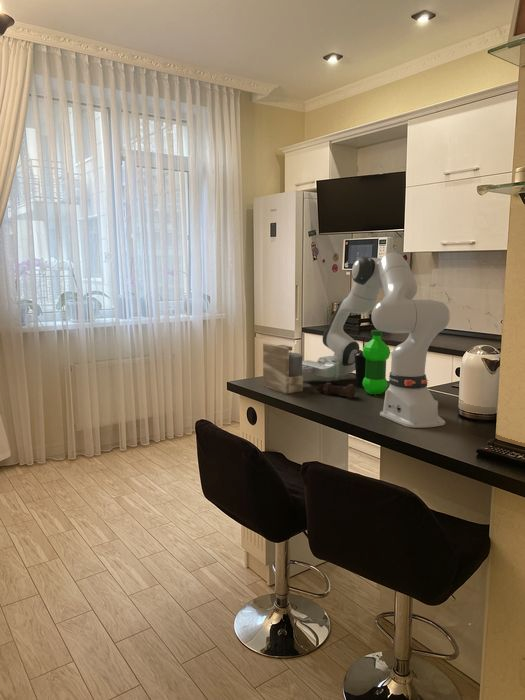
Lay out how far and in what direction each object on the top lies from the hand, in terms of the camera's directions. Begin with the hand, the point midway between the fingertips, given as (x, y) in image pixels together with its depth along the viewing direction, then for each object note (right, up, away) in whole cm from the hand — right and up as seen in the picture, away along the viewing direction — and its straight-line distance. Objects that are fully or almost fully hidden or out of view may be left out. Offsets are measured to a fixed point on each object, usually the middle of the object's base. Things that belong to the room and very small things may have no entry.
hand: (300, 370), depth 223 cm
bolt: (+13, -9, -14) cm, 21 cm away
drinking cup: (+26, -7, 0) cm, 27 cm away
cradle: (-7, -7, -4) cm, 11 cm away
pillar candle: (-4, -7, -1) cm, 8 cm away
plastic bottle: (+29, -9, -11) cm, 32 cm away
